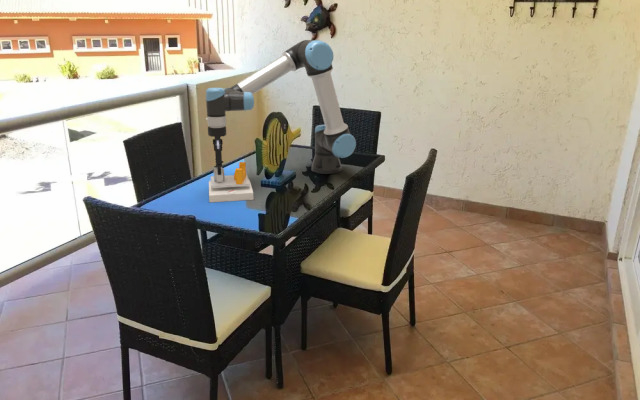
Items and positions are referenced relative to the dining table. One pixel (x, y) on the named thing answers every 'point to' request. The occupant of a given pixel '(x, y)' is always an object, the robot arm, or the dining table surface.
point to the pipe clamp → (240, 173)
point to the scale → (230, 190)
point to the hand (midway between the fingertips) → (219, 179)
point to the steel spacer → (215, 175)
